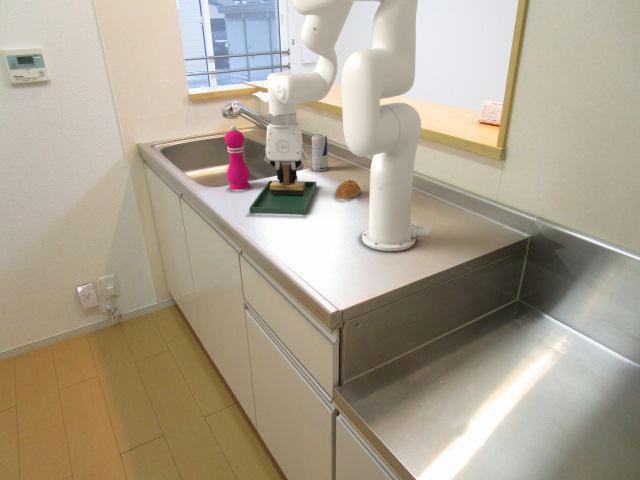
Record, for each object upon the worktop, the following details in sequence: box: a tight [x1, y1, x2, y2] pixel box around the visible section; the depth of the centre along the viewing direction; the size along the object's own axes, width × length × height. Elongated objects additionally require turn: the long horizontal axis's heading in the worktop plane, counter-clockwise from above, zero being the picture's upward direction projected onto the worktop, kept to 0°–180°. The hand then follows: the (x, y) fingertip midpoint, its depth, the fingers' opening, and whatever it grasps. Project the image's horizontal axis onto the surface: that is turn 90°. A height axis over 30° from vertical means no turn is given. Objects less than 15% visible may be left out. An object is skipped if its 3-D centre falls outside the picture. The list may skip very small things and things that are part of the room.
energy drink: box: [311, 133, 329, 172], centre depth 158 cm, size 5×5×12 cm
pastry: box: [336, 179, 361, 200], centre depth 134 cm, size 9×7×4 cm
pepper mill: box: [224, 124, 251, 191], centre depth 140 cm, size 7×7×20 cm
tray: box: [249, 180, 317, 216], centre depth 132 cm, size 15×23×2 cm, turn 172°
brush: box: [270, 162, 305, 195], centre depth 134 cm, size 10×4×9 cm, turn 82°
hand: (287, 181), depth 134 cm, fingers closed on brush, 2 cm apart
